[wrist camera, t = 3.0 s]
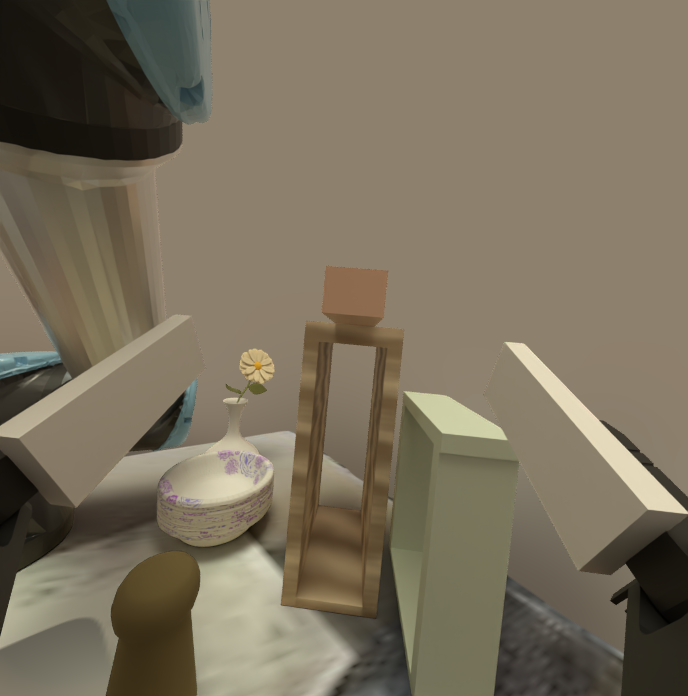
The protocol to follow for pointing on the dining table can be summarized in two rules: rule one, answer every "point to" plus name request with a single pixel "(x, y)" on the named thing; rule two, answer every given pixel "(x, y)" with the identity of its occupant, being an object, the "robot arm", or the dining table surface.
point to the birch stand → (305, 513)
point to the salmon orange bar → (354, 295)
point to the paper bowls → (214, 496)
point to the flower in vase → (255, 370)
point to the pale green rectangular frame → (451, 544)
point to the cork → (155, 628)
